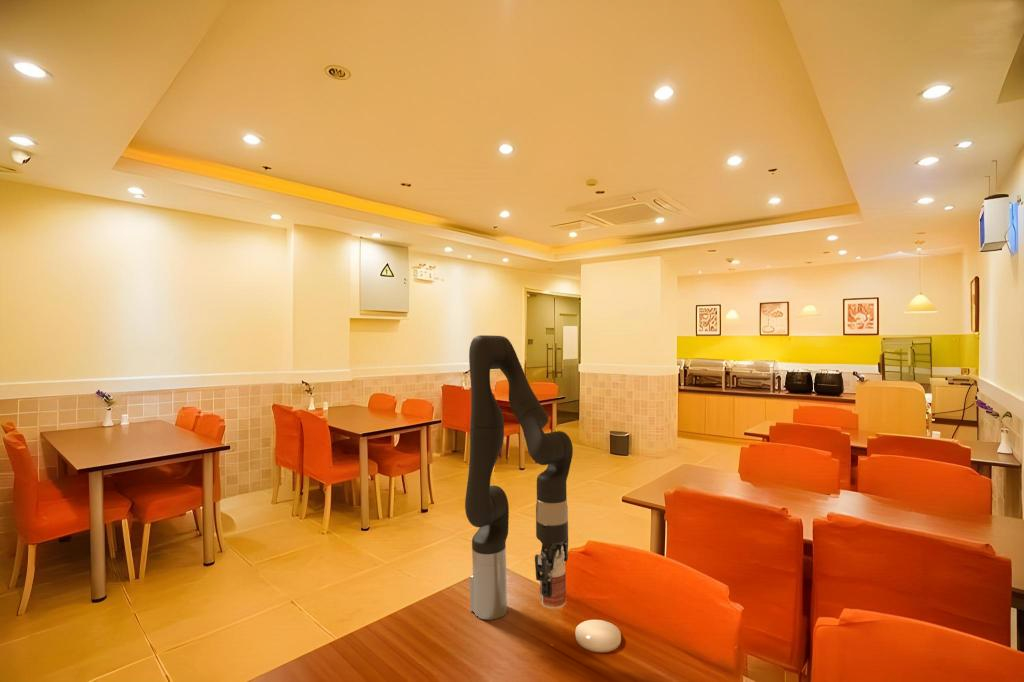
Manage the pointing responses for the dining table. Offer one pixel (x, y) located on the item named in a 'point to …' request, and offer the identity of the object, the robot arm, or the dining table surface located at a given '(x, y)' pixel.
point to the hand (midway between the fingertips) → (552, 588)
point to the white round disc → (598, 636)
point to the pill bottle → (556, 587)
